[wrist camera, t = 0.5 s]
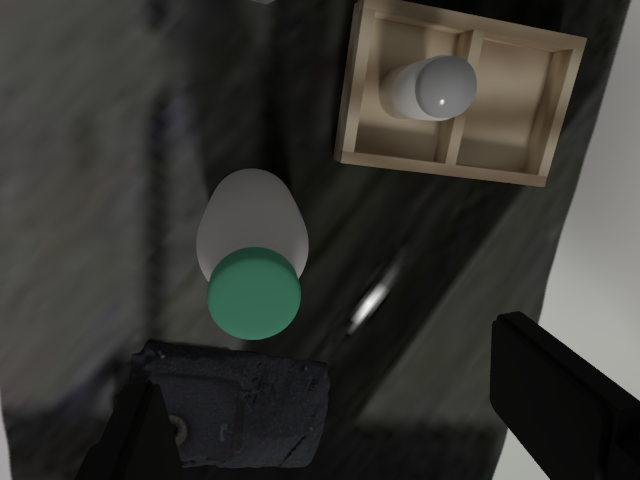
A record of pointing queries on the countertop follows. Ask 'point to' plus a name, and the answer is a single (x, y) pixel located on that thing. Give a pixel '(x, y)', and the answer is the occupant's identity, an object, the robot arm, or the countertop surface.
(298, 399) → the dark slate chunk
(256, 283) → the milk bottle
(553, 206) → the countertop surface
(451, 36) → the caddy
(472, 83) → the shaker
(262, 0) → the toilet tissue
